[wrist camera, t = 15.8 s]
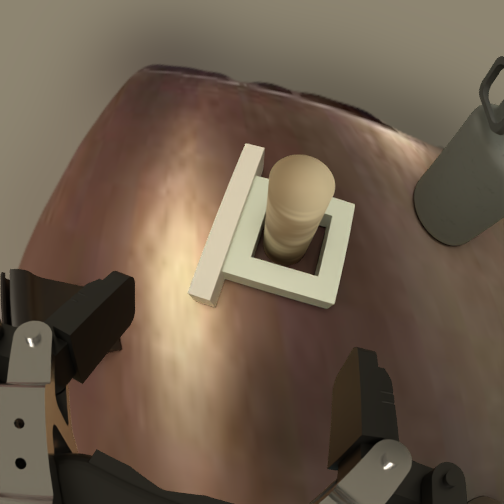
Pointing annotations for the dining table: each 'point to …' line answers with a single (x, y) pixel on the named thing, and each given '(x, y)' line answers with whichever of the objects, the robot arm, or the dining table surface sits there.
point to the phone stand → (34, 298)
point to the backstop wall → (225, 227)
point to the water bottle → (467, 175)
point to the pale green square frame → (282, 278)
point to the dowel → (295, 206)
